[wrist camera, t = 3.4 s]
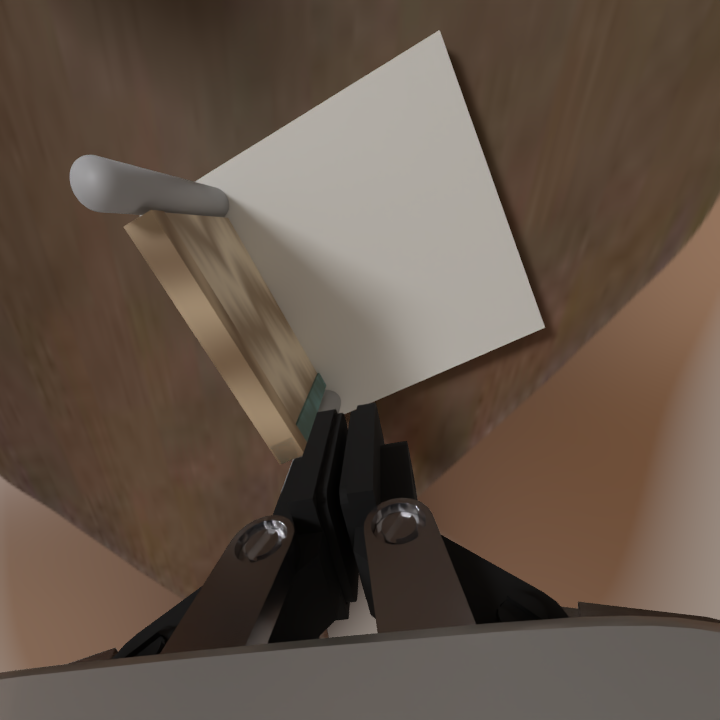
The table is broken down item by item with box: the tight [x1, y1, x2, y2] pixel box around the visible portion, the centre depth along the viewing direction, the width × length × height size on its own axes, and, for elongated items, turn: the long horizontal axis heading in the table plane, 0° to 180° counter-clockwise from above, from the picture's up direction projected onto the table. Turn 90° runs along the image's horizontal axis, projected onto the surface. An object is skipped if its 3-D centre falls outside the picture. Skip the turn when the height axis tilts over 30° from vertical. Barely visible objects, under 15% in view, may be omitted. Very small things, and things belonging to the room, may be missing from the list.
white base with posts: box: [70, 30, 545, 492], centre depth 25 cm, size 23×26×14 cm
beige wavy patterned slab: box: [124, 210, 327, 464], centre depth 26 cm, size 16×2×11 cm, turn 27°
